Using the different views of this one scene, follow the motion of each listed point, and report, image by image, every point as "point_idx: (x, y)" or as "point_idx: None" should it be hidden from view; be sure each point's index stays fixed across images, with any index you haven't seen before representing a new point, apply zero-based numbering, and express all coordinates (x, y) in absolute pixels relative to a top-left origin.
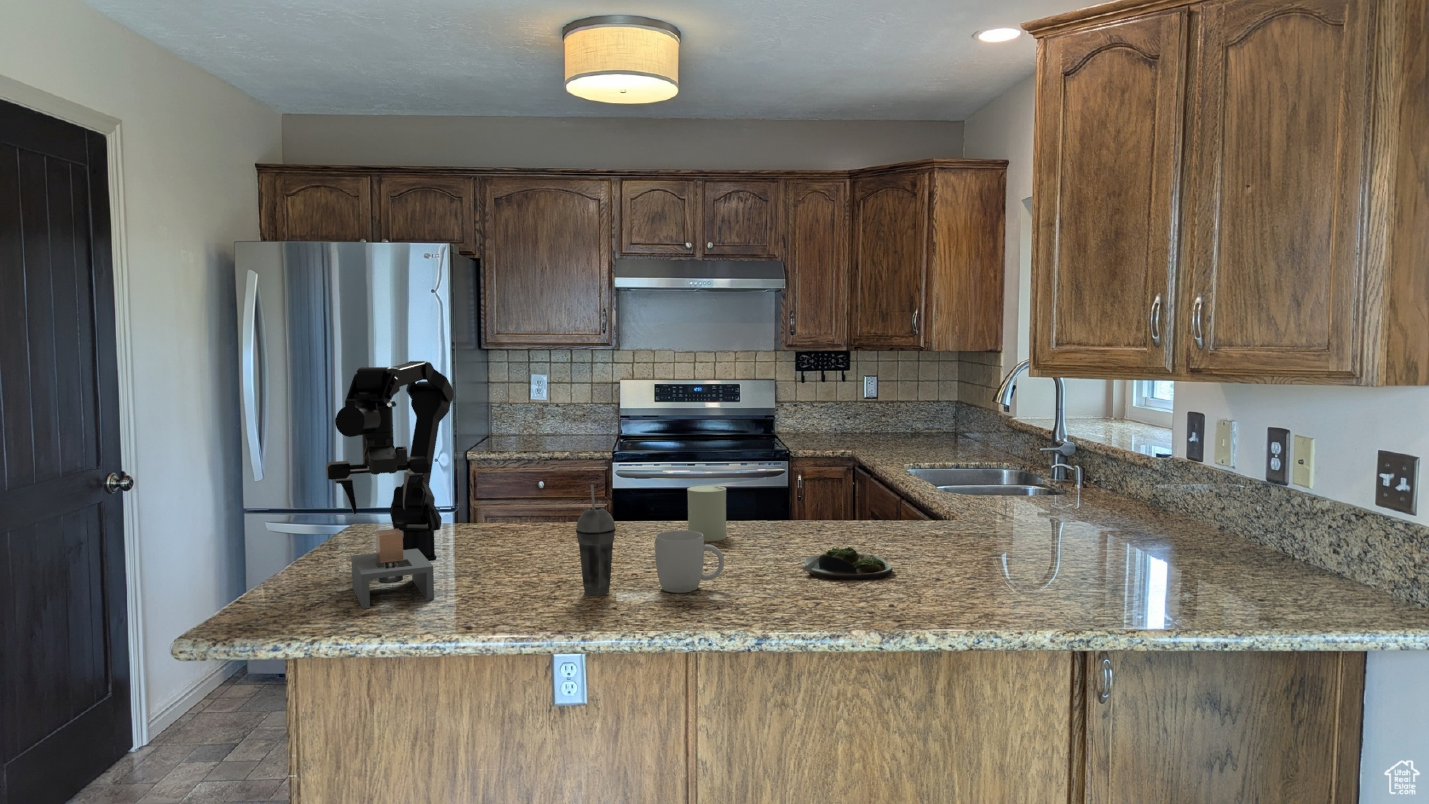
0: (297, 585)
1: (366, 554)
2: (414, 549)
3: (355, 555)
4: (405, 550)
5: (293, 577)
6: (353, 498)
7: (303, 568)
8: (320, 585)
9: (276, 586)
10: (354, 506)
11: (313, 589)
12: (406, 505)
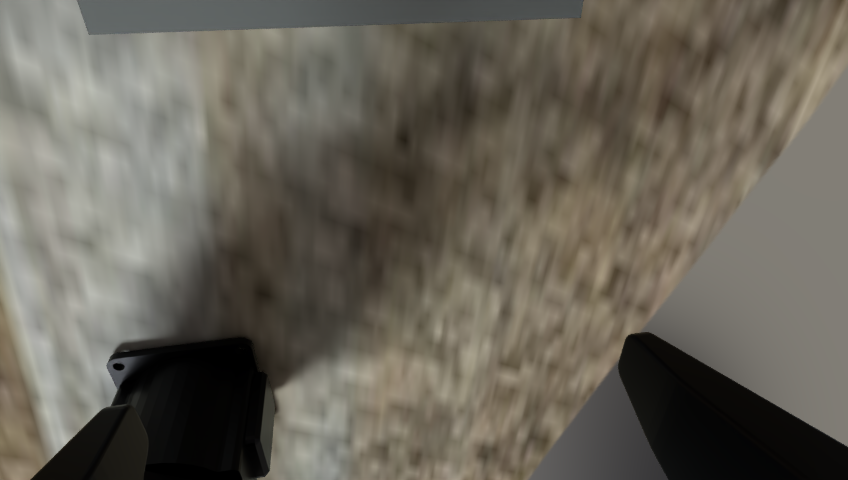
0: (681, 146)
1: (485, 7)
2: (113, 7)
3: (556, 9)
4: (191, 3)
5: (652, 267)
6: (794, 450)
7: (591, 364)
8: (614, 104)
9: (740, 163)
10: (697, 378)
11: (657, 43)
12: (79, 439)
